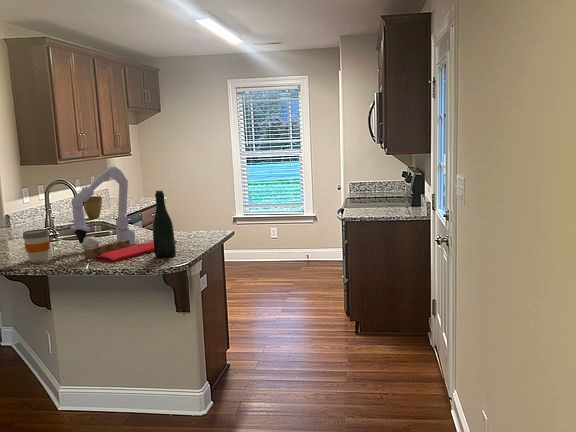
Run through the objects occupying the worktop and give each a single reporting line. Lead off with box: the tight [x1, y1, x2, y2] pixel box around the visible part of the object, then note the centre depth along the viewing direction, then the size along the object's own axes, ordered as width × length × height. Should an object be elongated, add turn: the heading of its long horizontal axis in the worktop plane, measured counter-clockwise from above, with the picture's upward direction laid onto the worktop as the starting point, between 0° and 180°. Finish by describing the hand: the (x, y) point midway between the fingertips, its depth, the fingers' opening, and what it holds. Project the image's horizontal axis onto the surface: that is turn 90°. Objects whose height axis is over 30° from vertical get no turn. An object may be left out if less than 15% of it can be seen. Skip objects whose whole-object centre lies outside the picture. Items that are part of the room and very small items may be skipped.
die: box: [81, 236, 100, 250], centre depth 301 cm, size 8×9×10 cm
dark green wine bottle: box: [151, 189, 177, 259], centre depth 276 cm, size 10×10×33 cm
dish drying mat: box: [94, 240, 177, 263], centre depth 291 cm, size 16×41×4 cm, turn 142°
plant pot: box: [83, 195, 103, 220], centre depth 424 cm, size 15×15×16 cm
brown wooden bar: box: [83, 240, 131, 260], centre depth 294 cm, size 26×3×4 cm, turn 144°
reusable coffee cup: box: [22, 228, 51, 263], centre depth 287 cm, size 13×12×15 cm
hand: (82, 243), depth 306 cm, fingers closed
